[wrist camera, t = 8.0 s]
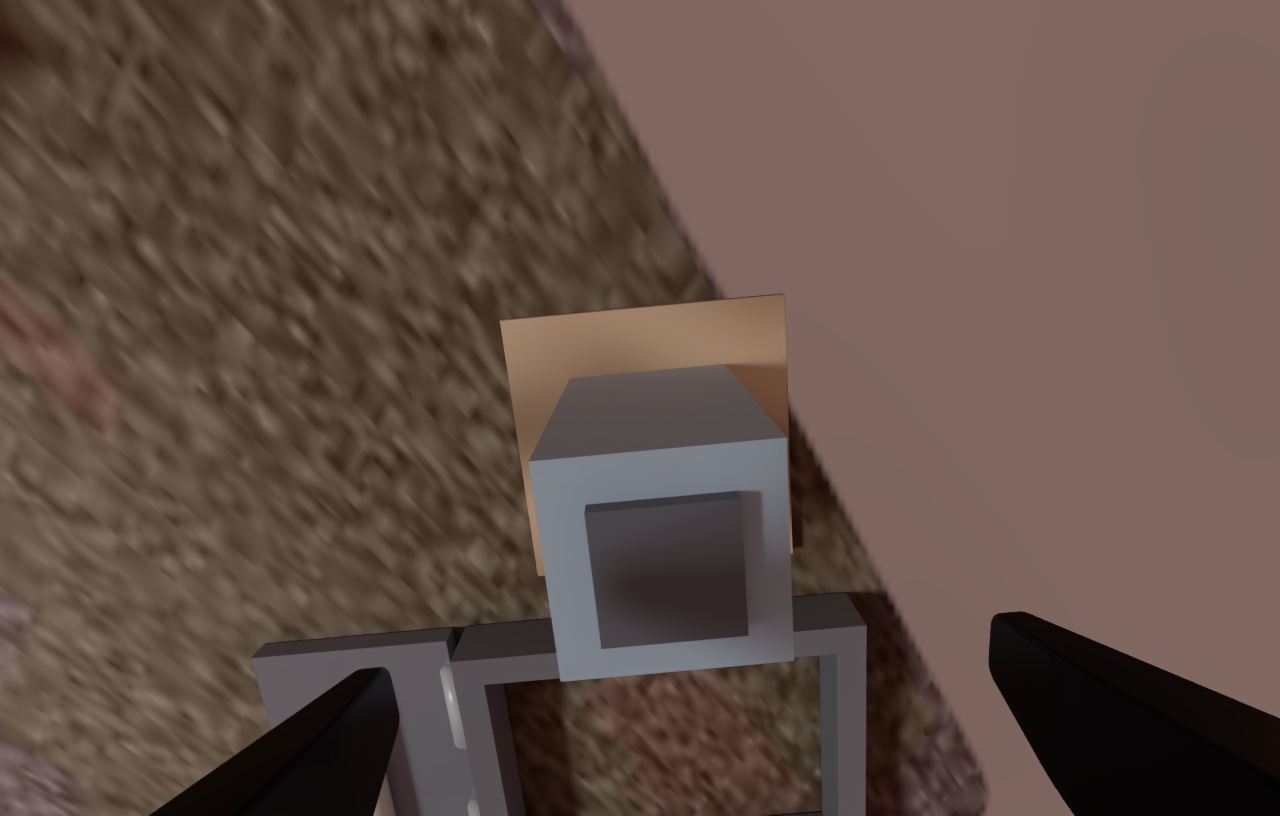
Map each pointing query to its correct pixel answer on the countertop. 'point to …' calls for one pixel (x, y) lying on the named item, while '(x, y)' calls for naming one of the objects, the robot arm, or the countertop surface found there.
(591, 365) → the pad
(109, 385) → the countertop surface
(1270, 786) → the robot arm
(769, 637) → the block
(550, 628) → the case
